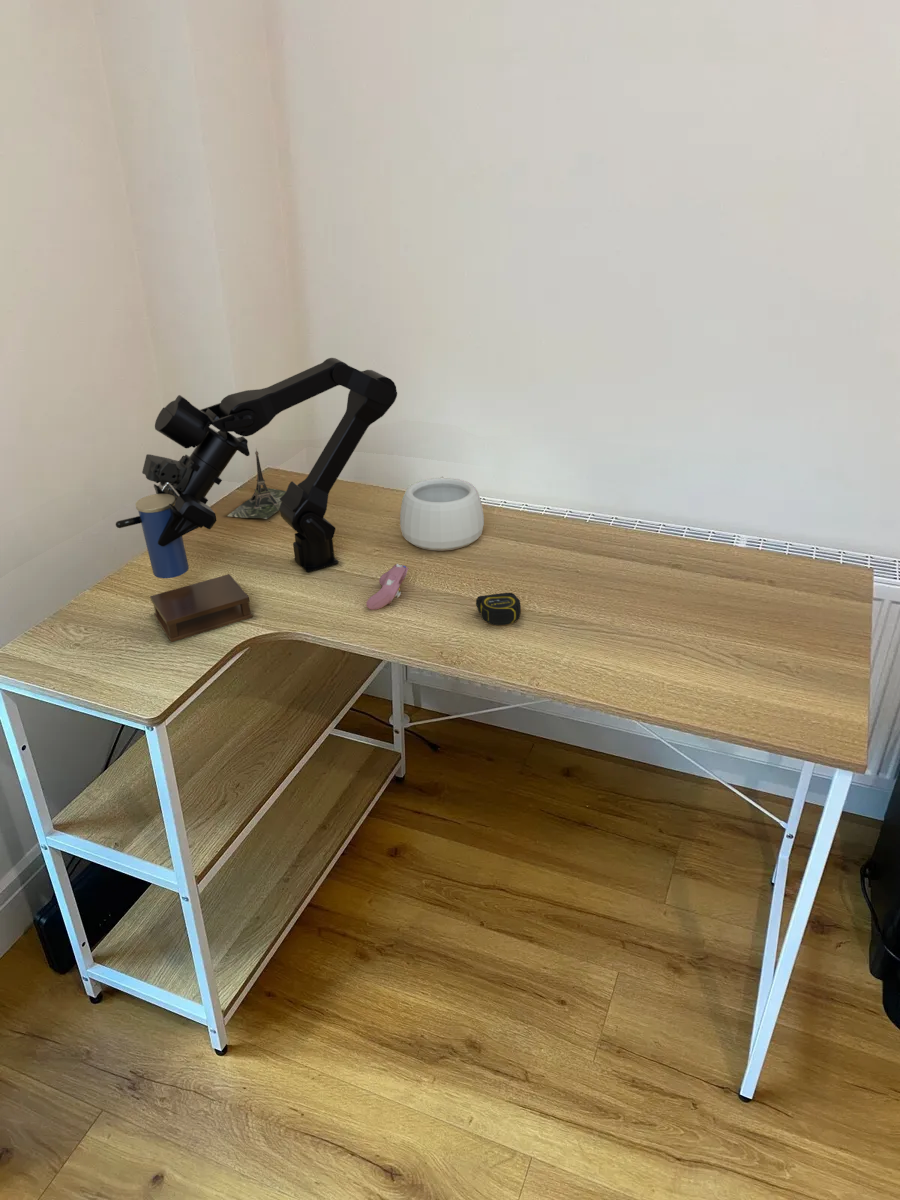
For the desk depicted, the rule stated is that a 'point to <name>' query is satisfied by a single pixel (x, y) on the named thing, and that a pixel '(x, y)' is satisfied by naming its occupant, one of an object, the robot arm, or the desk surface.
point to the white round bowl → (441, 514)
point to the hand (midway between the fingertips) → (155, 538)
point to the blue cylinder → (153, 522)
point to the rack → (201, 607)
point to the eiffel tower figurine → (260, 500)
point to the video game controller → (388, 587)
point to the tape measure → (499, 608)
